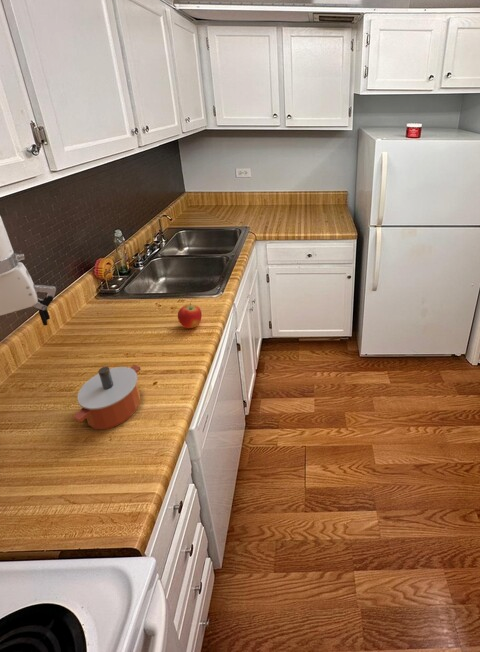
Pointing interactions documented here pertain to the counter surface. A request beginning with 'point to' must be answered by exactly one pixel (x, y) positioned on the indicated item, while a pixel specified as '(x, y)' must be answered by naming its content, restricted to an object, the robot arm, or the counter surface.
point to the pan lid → (107, 387)
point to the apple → (189, 316)
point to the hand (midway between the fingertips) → (19, 330)
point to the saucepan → (112, 410)
